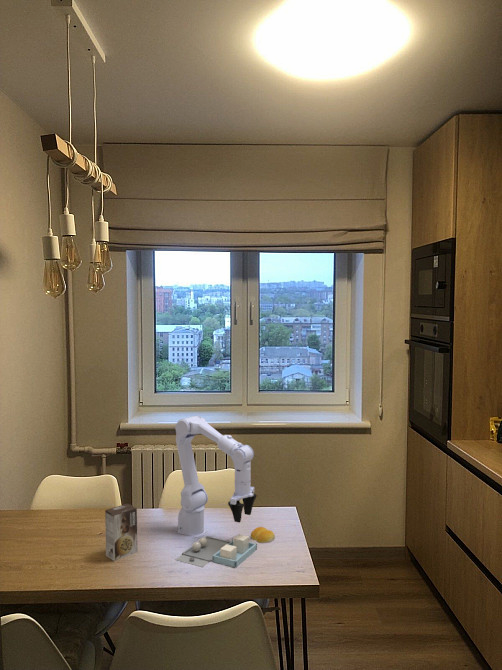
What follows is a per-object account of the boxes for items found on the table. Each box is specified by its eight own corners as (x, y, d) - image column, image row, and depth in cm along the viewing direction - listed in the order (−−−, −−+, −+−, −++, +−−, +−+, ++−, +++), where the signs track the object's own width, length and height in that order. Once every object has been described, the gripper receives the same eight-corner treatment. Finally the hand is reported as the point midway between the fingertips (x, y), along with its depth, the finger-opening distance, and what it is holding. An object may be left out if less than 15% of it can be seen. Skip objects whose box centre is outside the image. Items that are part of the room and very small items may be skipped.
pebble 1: (190, 551, 180) (190, 542, 180) (195, 548, 183) (195, 539, 183) (197, 553, 179) (197, 544, 179) (203, 550, 182) (203, 541, 181)
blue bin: (212, 563, 173) (212, 555, 173) (234, 545, 186) (234, 538, 186) (235, 569, 169) (235, 561, 169) (256, 550, 182) (256, 543, 182)
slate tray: (174, 561, 175) (174, 556, 174) (206, 538, 192) (206, 534, 192) (203, 568, 169) (203, 564, 169) (234, 544, 187) (234, 540, 187)
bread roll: (263, 546, 186) (263, 535, 186) (247, 538, 193) (247, 528, 192) (280, 540, 191) (280, 529, 191) (263, 532, 198) (263, 522, 198)
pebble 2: (196, 547, 184) (196, 538, 184) (201, 543, 187) (201, 535, 186) (204, 549, 182) (204, 540, 182) (209, 545, 185) (209, 536, 185)
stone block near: (220, 562, 173) (220, 548, 173) (226, 557, 176) (226, 544, 176) (230, 564, 171) (230, 551, 171) (236, 560, 174) (236, 546, 174)
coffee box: (128, 547, 185) (128, 502, 184) (138, 553, 180) (137, 507, 179) (104, 555, 178) (104, 509, 178) (114, 562, 174) (114, 514, 173)
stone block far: (233, 551, 181) (233, 538, 181) (238, 546, 184) (239, 534, 184) (243, 553, 179) (243, 540, 179) (248, 549, 182) (248, 536, 182)
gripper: (242, 488, 176) (242, 527, 177) (261, 476, 189) (261, 513, 190) (224, 484, 180) (224, 523, 180) (244, 473, 192) (244, 509, 193)
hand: (242, 518), depth 185 cm, fingers open, 7 cm apart
